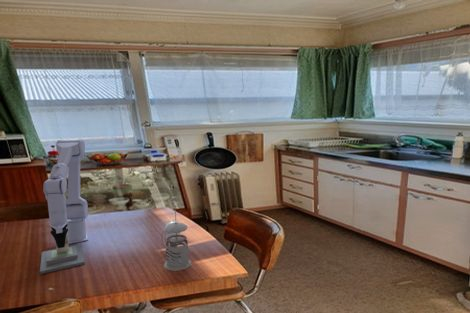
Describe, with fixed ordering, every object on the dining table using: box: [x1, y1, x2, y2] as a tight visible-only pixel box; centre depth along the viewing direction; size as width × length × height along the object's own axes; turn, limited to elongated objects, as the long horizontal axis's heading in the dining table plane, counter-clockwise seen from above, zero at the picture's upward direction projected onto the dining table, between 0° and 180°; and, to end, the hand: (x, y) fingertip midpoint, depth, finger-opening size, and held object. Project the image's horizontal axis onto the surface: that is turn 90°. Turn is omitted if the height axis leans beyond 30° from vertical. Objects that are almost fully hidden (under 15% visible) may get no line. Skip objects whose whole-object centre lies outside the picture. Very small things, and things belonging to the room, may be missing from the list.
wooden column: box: [55, 234, 70, 253], centre depth 119 cm, size 4×4×6 cm
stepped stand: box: [39, 243, 86, 275], centre depth 120 cm, size 18×14×3 cm
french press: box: [160, 196, 192, 272], centre depth 113 cm, size 10×12×25 cm
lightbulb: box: [165, 220, 181, 244], centre depth 128 cm, size 6×6×11 cm
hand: (61, 245), depth 119 cm, fingers closed on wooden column, 4 cm apart
